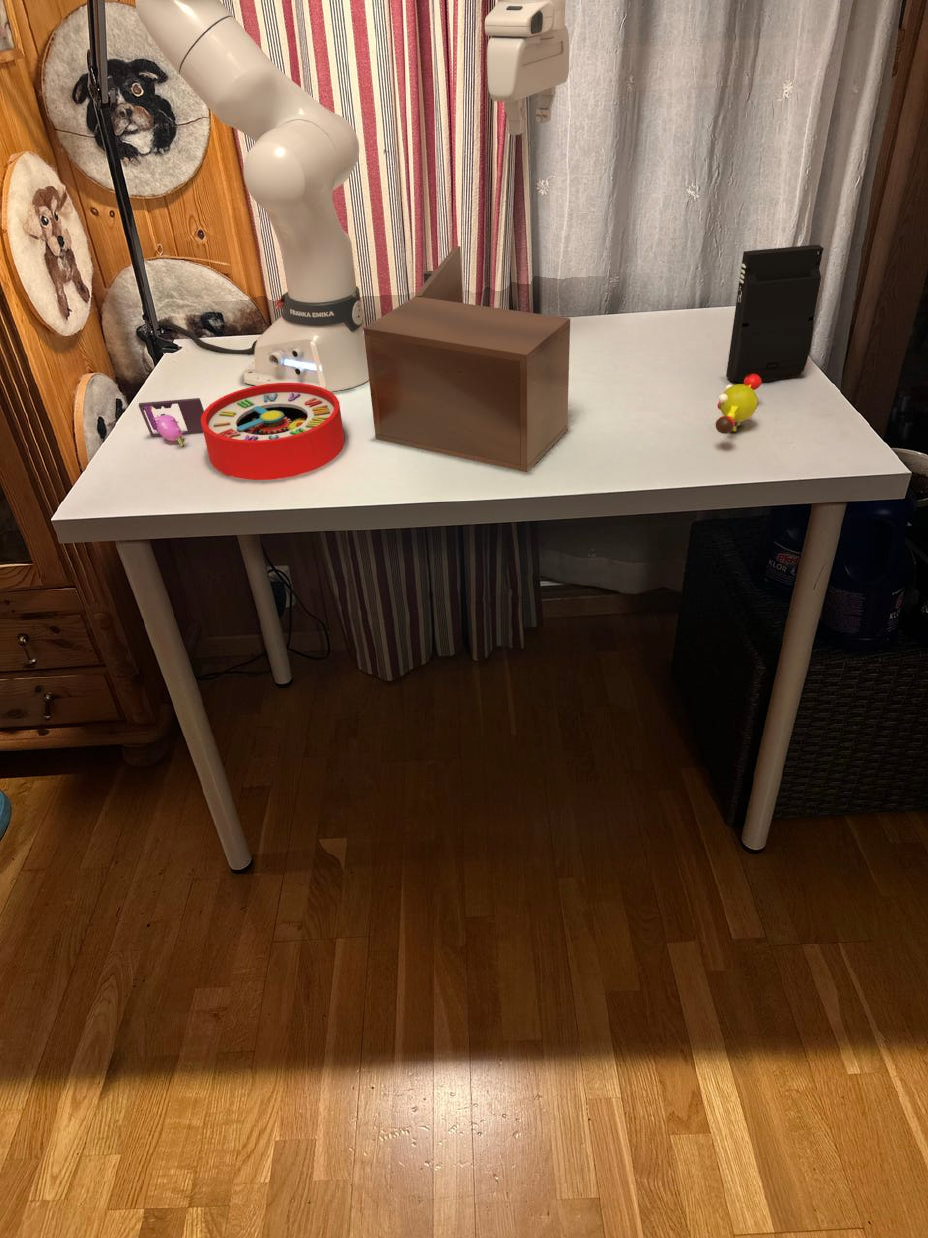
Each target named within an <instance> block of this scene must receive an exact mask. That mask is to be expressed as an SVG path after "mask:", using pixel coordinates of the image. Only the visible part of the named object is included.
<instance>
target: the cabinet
mask: <svg viewBox="0 0 928 1238" xmlns="http://www.w3.org/2000/svg"><path fill="white" fill-rule="evenodd" d="M363 332H364V339H365V348H366V357H367V366H368V375H369V380H368V382H369V392H370V401H371V409H372V418H373V427H374V434H375V436H374V437H375V440H377V441H382V442H387V443H389V444H395V445H400V446H403V447H409V448H413V449H418V450H422V451H427V452H432V453H436V454H441V455H445V456H450V457H454V458H459V459H462V460H463V459H464V460H468V461H473V462H477V463H482V464H487V465H491V466H497V467H499V468H504V469H510V470H512V471H513V470H514V471H518V472H522V473H523V472H524V473H528V472H529V471H530V470H531V469H532V468H533V467H534V466H535V465H536V464H537V463H538V462H539V461H540V460H541V459H542V458H543V457H544V456H545V455H546V454H547V453H548V452H549V451H550V450H551V449H552V448H553V446H554V445H555V444H556V443H558V441H559V440H560V439H562V437H563V436H565V434H566V433H567V432H568V422H569V421H568V419H569V382H570V380H569V377H570V348H571V347H570V343H571V318H570V317H562V316H556V315H550V314H549V315H548V314H544V313H543V314H542V313H535V312H534V313H533V312H529V311H520V310H515V309H507V308H500V307H492V306H487V305H486V306H485V305H479V304H472V303H465V302H463V303H458V302H451V301H444V300H437V299H430V298H423V297H416V296H415V295H414V296H413V297H412V298H410V299H408V300H407V301H405V302H403V303H402V304H400V305H399V306H397V307H396V308H394V309H393V310H391V311H389V312H387V313H386V314H384V315H383V316H381V317H379V318H378V319H376V320H374V321H373V322H371V323H369V324H368V325H366V326H365V327H363Z"/></svg>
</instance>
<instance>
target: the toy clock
mask: <svg viewBox="0 0 928 1238" xmlns="http://www.w3.org/2000/svg"><path fill="white" fill-rule="evenodd" d="M201 424H202V429H203V433H202V434H203V437H204V441H205V445H206V449H207V454H208V458H209V463H210V464H211V466H212V467H213V468H214V469H215V470H216V471H218V472H219V473H221V474H222V475H225V476H228V477H232V478H237V479H240V480H241V479H243V480H249V481H250V480H251V481H272V480H281V479H282V480H283V479H287V478H293V477H296V476H300V475H304V474H306V473H310V472H312V471H315V470H317V469H319V468H322V467H323V466H325V465H327V464H328V463H331V461H333V460H334V459H335V458H336V457H337V456H339V455H340V453H341V452H342V450H343V448H344V446H345V433H344V427H343V421H342V412H341V404H340V401H339V399H338V397H337V396H336V395H335V394H334V393H333V392H330V391H328V390H326V389H324V388H321V387H318V386H314V385H309V384H302V383H273V384H264V385H258V386H255V385H252V386H250V387H245V388H242V389H239V390H235V391H233V392H230V393H228V394H225V395H223V396H221V397H219V398H218V399H216V400H215V401H213V402H212V403H210V404H209V405H208V406H207V408H205V409H204V412H203V414H202V417H201Z"/></svg>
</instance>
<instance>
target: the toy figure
mask: <svg viewBox="0 0 928 1238" xmlns="http://www.w3.org/2000/svg"><path fill="white" fill-rule="evenodd" d="M762 383H763V382H762V380H761V377H760V376H759V375H757V374H749V375H747V376H746V377H745V380H744V383H738V384H737V383H736V384H726V386H725V388H724V391H723V393H721V394H719V396H718V402H717V406H716V407H717V409H718V410H719V411H721V414H722V415H723V416H720V417H719V418H718V419H717V420H716V422H715V429H716V430H717V432H718V433H720V434H722V435H723V434H724V435H727V434H730V433H735V434H736V433H737V429H738V428H740V426H741V422H744V421H746V420H748V419H750V418H751V417H752V416H753V415H754V413H755V412H756V410H757V409H758V403H759V400H758V395H757V393H756V390H757V389H759V388H760V386H761V385H762Z"/></svg>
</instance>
